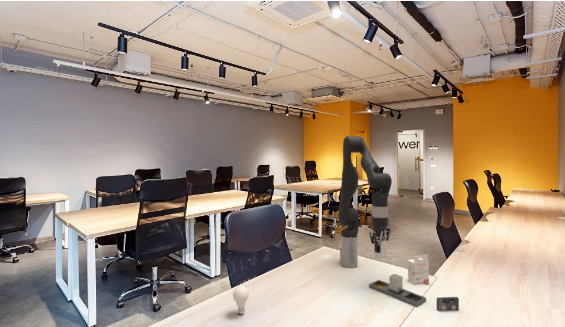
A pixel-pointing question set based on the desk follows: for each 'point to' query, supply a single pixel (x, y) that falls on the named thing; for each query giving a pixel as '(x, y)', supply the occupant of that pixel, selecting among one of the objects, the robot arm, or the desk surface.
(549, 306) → the desk surface
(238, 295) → the lightbulb
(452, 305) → the mini dv tape
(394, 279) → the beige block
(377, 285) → the rail
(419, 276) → the ink cartridge box
